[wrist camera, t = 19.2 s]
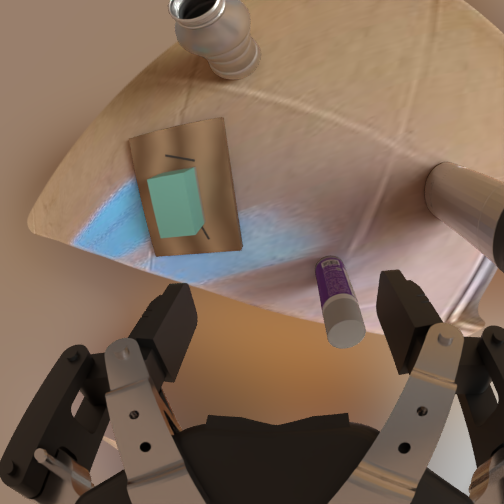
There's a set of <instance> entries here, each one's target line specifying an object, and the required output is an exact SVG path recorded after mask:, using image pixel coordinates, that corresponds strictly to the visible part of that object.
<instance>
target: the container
mask: <svg viewBox="0 0 504 504" xmlns="http://www.w3.org/2000/svg"><path fill="white" fill-rule="evenodd" d="M315 273H316V279H317V284H318V290H319V296H320V301H321V307H322V313H323V318H324V323H325V328H326V332H327V337H328V341H329V343H330V344H331V345H332V346H334V347H336V348H349V347H352V346H354V345H356V344H358V343H359V342H360V341H361V340H362V339H363V338H364V336H365V333H366V329H365V325H364V322H363V318H362V315H361V311H360V308H359V305H358V301H357V299H356V296H355V293H354V290H353V288H352V285H351V282H350V280H349V277H348V274H347V272H346V269H345V267H344V264H343V262H342V261H341V260H340V259H339V258H337V257H335V256H327V257H324V258H322V259H321V260H320V261H319V262H318V263H317V265H316V267H315Z"/></svg>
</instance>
